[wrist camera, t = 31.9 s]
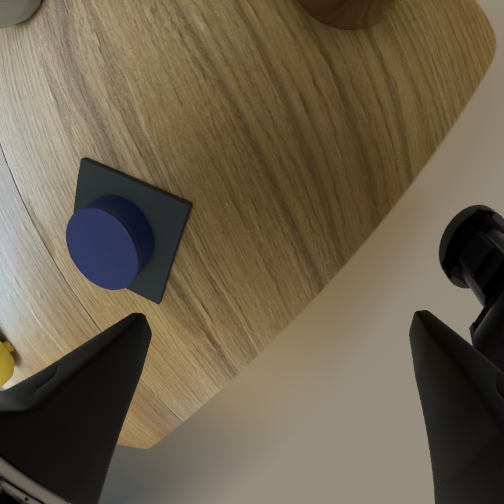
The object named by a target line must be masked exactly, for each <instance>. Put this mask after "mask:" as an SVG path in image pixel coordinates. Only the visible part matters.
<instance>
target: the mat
mask: <svg viewBox="0 0 504 504" xmlns="http://www.w3.org/2000/svg"><path fill="white" fill-rule="evenodd" d="M106 195H115V196H120V197H123V198H125V199H127V200H129V201H131V202H132V203H133V204H134V205H136V206H137V207H138V208H139V209H140V210H141V212H142V213H143V214H144V215H145V217H146V219H147V220H148V222H149V224H150V227H151V229H152V233H153V238H154V250H153V254H152V257H151V259H150V261H149V262H148V264H147V265H146V266H145V267H144V269H143V270H142V271H141V272H140V274H139V275H138V276H137V277H136V278H135V280H134V281H133V282H132V283H131V284H130V285H129V286H127V287H125V288H127V289H129V290H131V291H133V292H135V293H137V294H139V295H141V296H143V297H145V298H147V299H149V300H151V301H153V302H155V303H157V304H160V302H161V300H162V297H163V293H164V290H165V287H166V283H167V280H168V277H169V273H170V270H171V267H172V264H173V261H174V257H175V254H176V251H177V248H178V245H179V242H180V239H181V236H182V233H183V230H184V227H185V224H186V221H187V218H188V215H189V213H190V210H191V207H192V203H190V202H188V201H186V200H183V199H181V198H179V197H177V196H174V195H172V194H170V193H167V192H165V191H163V190H161V189H158V188H156V187H154V186H151V185H149V184H147V183H144V182H142V181H140V180H138V179H135V178H133V177H131V176H128V175H126V174H124V173H121V172H119V171H117V170H114V169H112V168H109V167H107V166H105V165H102V164H100V163H98V162H95V161H93V160H91V159H88V158H86V157H85V158H82V159H81V163H80V169H79V175H78V181H77V189H76V196H75V205H74V213H75V212H77V211H78V210H80V209H81V208H83V207H85V206H86V205H88V204H89V203H91V202H93V201H94V200H96V199H98V198H100V197H102V196H106Z"/></svg>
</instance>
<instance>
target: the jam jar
mask: <svg viewBox="0 0 504 504" xmlns="http://www.w3.org/2000/svg"><path fill="white" fill-rule="evenodd" d="M298 1H299V2H300V4H301V5H302V7H303V8H304V9H305V10H306V11H307V12H308V13H309V14H310V15H311V16H313V17H314V18H316V19H317V20H319V21H321V22H323V23H325V24H327V25H329V26H332V27H336V28H340V29H348V30H357V29H363V28H367V27H370V26H372V25H374V24H376V23H377V22H378V21H379V20H381V19H382V18H383V17H384V16H385V15H386V14H387V13H388V12H389V11H390V10H391V9H392V8H393V7H394V6H395V5H396V4H397V3H399V2H400V1H401V0H298Z"/></svg>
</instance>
